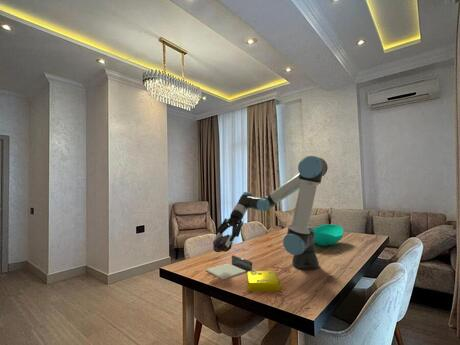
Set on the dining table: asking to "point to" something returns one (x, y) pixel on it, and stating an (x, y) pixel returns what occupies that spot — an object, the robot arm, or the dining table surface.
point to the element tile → (262, 281)
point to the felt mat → (225, 271)
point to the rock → (221, 244)
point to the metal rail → (242, 263)
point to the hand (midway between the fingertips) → (220, 244)
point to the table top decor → (328, 234)
